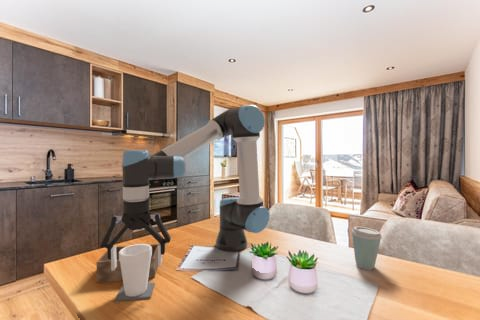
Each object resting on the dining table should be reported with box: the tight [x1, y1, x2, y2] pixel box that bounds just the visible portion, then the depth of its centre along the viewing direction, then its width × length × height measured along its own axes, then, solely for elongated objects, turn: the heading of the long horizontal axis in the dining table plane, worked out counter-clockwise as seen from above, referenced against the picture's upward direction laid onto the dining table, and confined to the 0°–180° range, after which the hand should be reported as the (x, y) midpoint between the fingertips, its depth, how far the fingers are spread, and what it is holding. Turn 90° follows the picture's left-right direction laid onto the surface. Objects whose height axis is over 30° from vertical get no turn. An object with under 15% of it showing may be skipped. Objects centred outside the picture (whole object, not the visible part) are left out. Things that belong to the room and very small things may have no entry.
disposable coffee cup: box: [351, 226, 382, 271], centre depth 94 cm, size 11×11×15 cm
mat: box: [114, 282, 156, 303], centre depth 75 cm, size 10×8×1 cm
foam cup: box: [119, 243, 152, 296], centre depth 75 cm, size 10×9×13 cm
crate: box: [96, 243, 159, 284], centre depth 89 cm, size 19×14×7 cm
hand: (137, 266), depth 75 cm, fingers open, 13 cm apart
